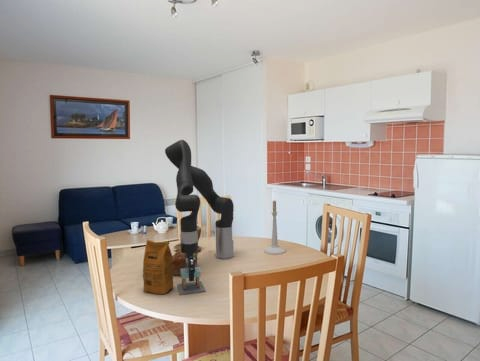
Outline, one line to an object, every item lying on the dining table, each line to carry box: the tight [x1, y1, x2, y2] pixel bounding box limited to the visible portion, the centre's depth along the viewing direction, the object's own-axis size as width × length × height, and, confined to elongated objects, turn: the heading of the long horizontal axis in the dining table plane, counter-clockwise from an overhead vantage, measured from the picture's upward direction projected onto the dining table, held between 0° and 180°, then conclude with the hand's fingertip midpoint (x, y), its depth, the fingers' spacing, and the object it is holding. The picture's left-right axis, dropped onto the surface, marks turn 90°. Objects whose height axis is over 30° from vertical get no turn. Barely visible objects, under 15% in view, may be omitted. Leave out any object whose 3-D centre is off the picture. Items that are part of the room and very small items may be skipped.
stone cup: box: [173, 225, 202, 252], centre depth 211 cm, size 15×12×15 cm
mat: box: [176, 280, 206, 296], centre depth 157 cm, size 11×11×1 cm
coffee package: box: [142, 239, 174, 295], centre depth 155 cm, size 10×12×22 cm
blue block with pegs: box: [180, 266, 201, 290], centre depth 156 cm, size 6×8×7 cm
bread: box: [172, 249, 198, 277], centre depth 180 cm, size 19×11×10 cm, turn 176°
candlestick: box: [263, 200, 287, 256], centre depth 206 cm, size 13×13×30 cm
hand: (190, 278), depth 156 cm, fingers closed on blue block with pegs, 6 cm apart
